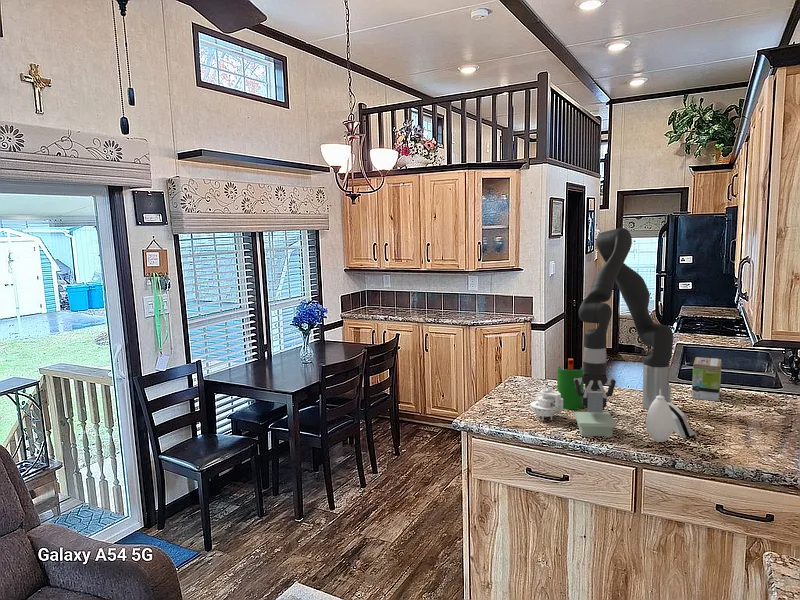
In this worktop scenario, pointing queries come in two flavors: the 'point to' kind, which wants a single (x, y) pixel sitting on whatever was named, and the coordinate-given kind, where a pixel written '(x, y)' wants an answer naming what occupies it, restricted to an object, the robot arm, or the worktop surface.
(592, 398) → the housing
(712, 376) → the tea box
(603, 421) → the stand
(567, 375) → the motor
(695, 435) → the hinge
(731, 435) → the worktop surface
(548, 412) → the mechanical part
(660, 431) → the sauce bottle
